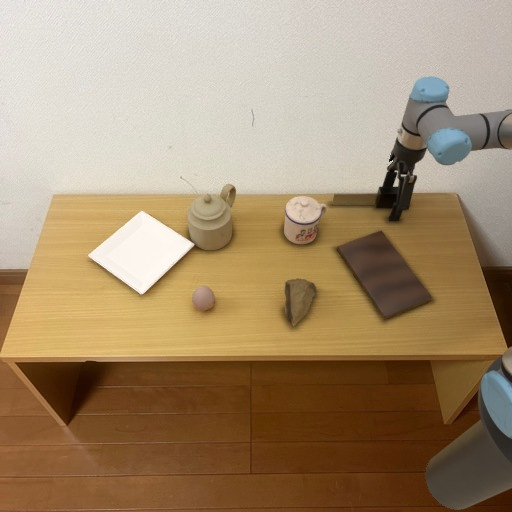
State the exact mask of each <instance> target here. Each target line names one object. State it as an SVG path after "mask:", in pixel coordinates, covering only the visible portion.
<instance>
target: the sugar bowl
mask: <svg viewBox="0 0 512 512" xmlns="http://www.w3.org/2000/svg"><path fill="white" fill-rule="evenodd" d="M236 196H237V189H236V186H235V185H233V183H226V184H225V185H224V186H223V187H222V189H221V191H220V195H217V194H213V193H205V194H201V195H199V196H198V197H196V198H195V199H193V201H192V202H191V204H189V206H188V208H187V211H186V219H187V227H188V232H189V237H190V241H191V242H192V243H194V246H196V247H197V248H199V249H202V250H205V251H216V250H220V249H222V248H224V247H225V246H227V245H228V244H229V243H230V242H231V239H232V238H233V214H232V208H233V206H234V203H235V200H236Z"/></svg>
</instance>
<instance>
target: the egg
mask: <svg viewBox="0 0 512 512" xmlns="http://www.w3.org/2000/svg"><path fill="white" fill-rule="evenodd" d="M194 289H195V290H193V292H192V296H191V301H192V304H193V306H194V307H195V308H196V309H197V310H199V311H208V310H210V309H211V308H212V307H213V306H214V304H215V302H216V295H215V293H214V291H213V290H212V289H211V288H210V287H209V286H207V285H199V286H198V287H196V288H194Z"/></svg>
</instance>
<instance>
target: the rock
mask: <svg viewBox="0 0 512 512" xmlns="http://www.w3.org/2000/svg"><path fill="white" fill-rule="evenodd" d="M316 294H318V288H317V287H316V285H315V283H314V282H312V281H308V280H307V279H305V278H298V277H297V278H293V279H292V278H291V279H287V280H286V281H285V282H284V296H285V302H284V314H285V316H286V318H287V321H288V322H289V323H290V324H291V325H292V326H293V327H296V326H297V324H298V323H299V322H300V321H301V320H303V318H304V317H306V315H307V313H308V312H309V308H310V305H311V304H312V302H313V297H314V296H315V295H316Z"/></svg>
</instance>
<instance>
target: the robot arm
mask: <svg viewBox="0 0 512 512" xmlns="http://www.w3.org/2000/svg"><path fill="white" fill-rule="evenodd" d="M449 94H450V86H449V84H448V83H447V81H445V80H444V79H442V78H440V77H437V76H430V75H429V76H423V77H420V78H418V79H417V80H416V81H415V82H414V84H413V87H412V89H411V92H410V93H409V95H408V98H407V99H408V100H407V103H406V106H405V110H404V113H403V117H402V120H401V123H400V126H399V128H398V129H397V131H396V132H397V137H396V138H395V141H394V145H393V148H392V149H391V151H390V153H391V155H390V154H389V155H390V159H389V162H390V161H392V160H393V162H392V163H391V164H390V165H389V166H388V165H387V167H386V174H385V177H384V179H383V183H382V185H381V187H394V185H395V182H396V180H398V185H397V187H398V191H397V200H396V202H394V203H393V208H391V210H390V213H389V216H388V221H389V222H393V221H394V222H395V221H397V222H398V221H400V220H401V217H402V214H403V212H404V211H409V210H410V207H411V202H412V199H413V198H412V197H413V194H414V190H415V189H414V188H415V185H416V183H417V180H418V175H417V174H414V171H415V169H416V164H417V163H419V162H421V161H422V160H423V159H424V157H425V155H426V152H427V151H428V152H429V154H430V155H432V157H433V159H434V160H435V161H436V162H437V164H439V165H441V166H453V165H455V164H456V163H460V162H462V161H463V160H465V159H466V158H467V157H468V156H469V155H470V153H471V152H475V151H476V152H477V151H481V150H492V149H493V150H494V149H502V150H512V108H511V109H510V108H509V109H505V110H498V111H489V112H483V113H482V112H481V113H479V112H478V113H471V114H462V115H455V114H454V113H453V112H452V110H451V109H450V107H449V105H448V104H447V100H448V99H449ZM502 356H503V357H502V362H501V367H500V369H499V370H498V371H490V372H489V373H486V374H485V375H484V374H483V375H484V376H483V375H482V377H481V380H482V381H481V380H480V382H481V391H482V396H483V400H484V403H485V406H486V408H487V410H488V413H489V414H490V416H491V418H492V420H493V421H494V423H495V424H496V426H497V427H498V428H499V429H500V430H501V431H502V432H503V433H504V434H505V435H506V436H508V437H509V438H511V439H512V346H510V347H508V348H507V349H506V350H504V352H503V354H502Z"/></svg>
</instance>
